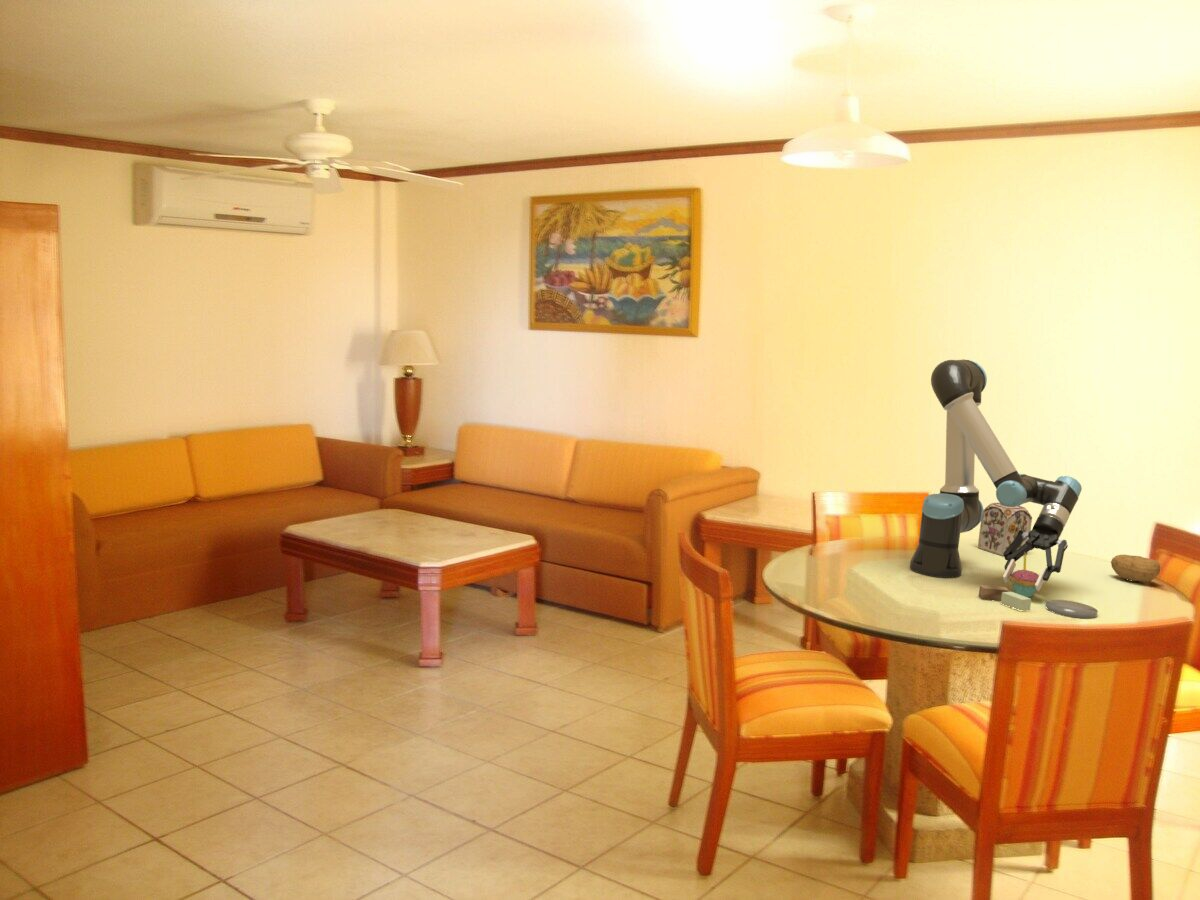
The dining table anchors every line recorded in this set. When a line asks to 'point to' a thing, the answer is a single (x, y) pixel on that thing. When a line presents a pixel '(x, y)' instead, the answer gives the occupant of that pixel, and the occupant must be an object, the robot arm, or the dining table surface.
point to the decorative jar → (1002, 527)
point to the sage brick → (1016, 600)
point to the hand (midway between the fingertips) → (1020, 583)
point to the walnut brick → (991, 592)
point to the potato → (1135, 568)
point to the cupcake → (1024, 581)
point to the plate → (1071, 609)
